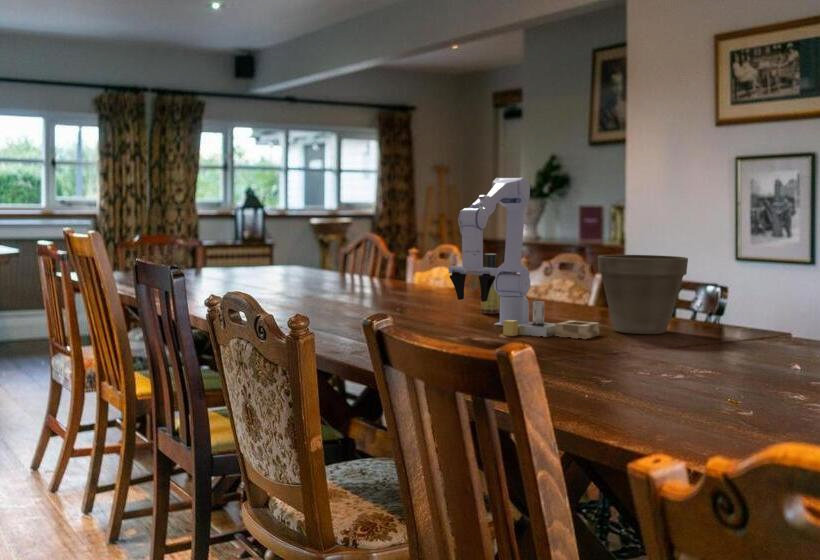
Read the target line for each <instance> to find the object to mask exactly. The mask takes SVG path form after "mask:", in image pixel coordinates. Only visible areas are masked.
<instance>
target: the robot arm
mask: <svg viewBox="0 0 820 560" xmlns="http://www.w3.org/2000/svg"><path fill="white" fill-rule="evenodd" d="M530 185H531V184H530V183H529V180H528V179H527V177H496V178H495V179H494V180H493V181H492V183H491V189H490V191H489V192H488V193H487V194H479V196H478V197H477V199H476V200H475V201H474V202H473V203H472V204H471V205H470V206H469V207H464V208H463V209H461V210H460V212H459V213H458V218H457V222H458V223H457V224H458V226H459V232H460V235H461V254H462V255H461V266H460V265H458V266H457V265H455V266H453V265H451V266H448V274H450V275H449V279H450V281H451V282H452V285H453V287H454V290H455V293H456V296H457V300H458V301H461V300H464V299H465V281H466V279H467V275H479V276H478V280H479V284H480V302H481V301H482V302H484V301H487V299H488V295H489V291H490V288H491V286H492V284H493V282H494V289H495V291H496V292H497V293H498V295H500V308H499V311H500V312H499V322H495V323H493V325H494V326H502V327H503V321H505V320H517V321H518V324H522V323H527V322H530V303H529V302H530V301H529V299H528V298H527V297H526V296H527V294H529V291H530V290H531V278H530V270H529V269H528V268H527V266H525V265H524V264H523V263H522V255H523V254H522V252H523V242H524V240H523V239H524V238H523V237H524V225H525V214H526V213H525V212H526V208H527V207H528V206H529V205H530V195H531V192H530V191H531V186H530ZM498 203H499V204H500V205H501V206H502V207H505V208H506V210H507V218H506V219H507V220H506V231H505V232H506V233H505V234H506V235H505V246H504V247H505V248H504V261H503V262H502V263H501V265H500V266H497V267H496V268H488V267H485V266H484V265H483V264H484V248H483V247H484V242H483V241H484V237H483V236H484V229H485V228H486V227H487V222H488V220H489V217H490V216H491V215H492V214H493V213H494V212H495V210H496V209H497V204H498ZM482 275H483V276H482ZM494 275H496V276H494Z"/></svg>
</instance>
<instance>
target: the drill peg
mask: <svg viewBox="0 0 820 560" xmlns="http://www.w3.org/2000/svg"><path fill="white" fill-rule="evenodd" d="M532 322H533V325H535V326H544V323H545V301H543V300H542V301H541V300H537V301H536V300H535V301H533V302H532Z"/></svg>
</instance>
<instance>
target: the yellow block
mask: <svg viewBox="0 0 820 560" xmlns="http://www.w3.org/2000/svg"><path fill="white" fill-rule="evenodd" d="M502 329H503V330H502V332H503V333H502V335H503V336H507V337H514V336H518V321H517V320H505V321H503V326H502Z"/></svg>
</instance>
